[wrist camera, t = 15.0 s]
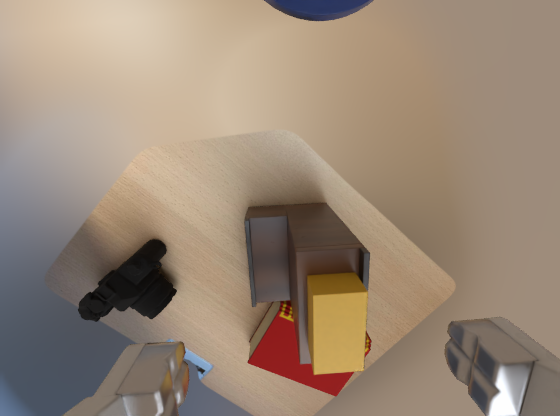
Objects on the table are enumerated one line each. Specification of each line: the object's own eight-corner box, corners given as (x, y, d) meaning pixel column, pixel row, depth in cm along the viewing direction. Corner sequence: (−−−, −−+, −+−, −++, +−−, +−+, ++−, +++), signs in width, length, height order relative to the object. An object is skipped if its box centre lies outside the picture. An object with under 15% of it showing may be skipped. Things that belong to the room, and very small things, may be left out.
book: (363, 325, 50) (373, 345, 46) (329, 372, 53) (336, 396, 48) (280, 288, 47) (282, 306, 43) (249, 341, 50) (247, 363, 45)
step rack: (247, 207, 43) (236, 251, 27) (326, 202, 43) (362, 243, 27) (254, 282, 47) (247, 361, 30) (326, 277, 47) (357, 352, 31)
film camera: (139, 319, 48) (111, 360, 39) (96, 284, 45) (56, 320, 37) (198, 269, 46) (182, 301, 37) (156, 230, 43) (128, 254, 35)
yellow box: (308, 347, 29) (313, 375, 26) (307, 275, 27) (312, 295, 23) (352, 343, 29) (363, 371, 26) (355, 272, 27) (368, 291, 23)
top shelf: (294, 247, 27) (297, 257, 25) (362, 243, 27) (370, 252, 25) (298, 357, 31) (301, 374, 28) (357, 352, 31) (364, 368, 29)
